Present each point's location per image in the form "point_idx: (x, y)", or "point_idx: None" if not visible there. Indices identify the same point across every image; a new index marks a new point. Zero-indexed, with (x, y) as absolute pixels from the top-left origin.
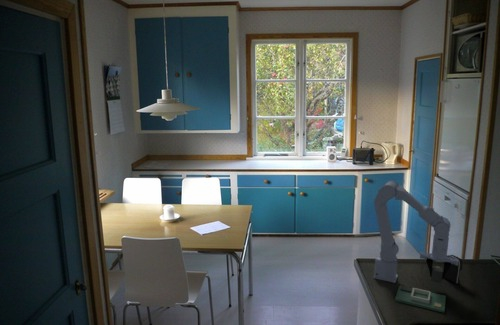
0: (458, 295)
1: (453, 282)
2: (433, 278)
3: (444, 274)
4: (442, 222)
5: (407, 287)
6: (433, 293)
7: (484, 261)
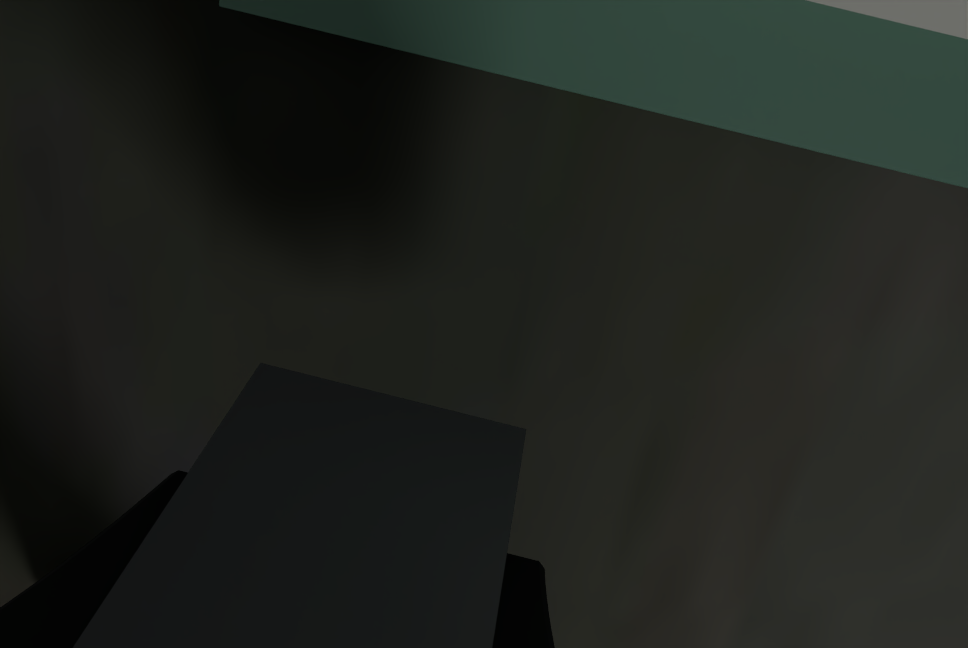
0: (3, 194)
1: None
2: (456, 477)
3: (62, 583)
4: None
5: None
6: (515, 55)
7: None
